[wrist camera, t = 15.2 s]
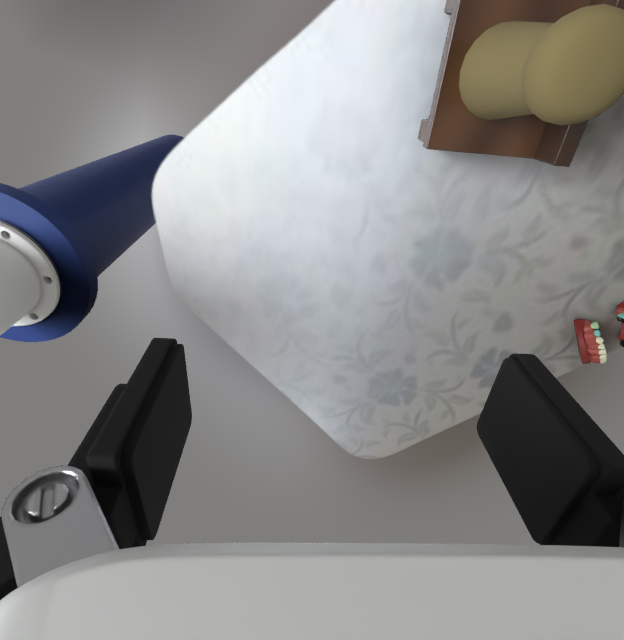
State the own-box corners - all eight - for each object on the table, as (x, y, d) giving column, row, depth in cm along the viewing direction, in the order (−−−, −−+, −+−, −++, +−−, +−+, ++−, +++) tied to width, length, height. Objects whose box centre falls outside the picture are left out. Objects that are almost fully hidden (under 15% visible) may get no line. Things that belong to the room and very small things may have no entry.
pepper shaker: (490, 4, 26) (596, -42, 16) (562, 43, 27) (699, 22, 18) (443, 100, 29) (509, 109, 19) (510, 132, 30) (603, 155, 20)
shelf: (411, 140, 35) (437, 155, 28) (443, -19, 29) (485, -50, 22) (518, 150, 35) (569, 166, 28) (570, -4, 29) (650, -30, 23)
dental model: (666, 352, 42) (589, 378, 44) (638, 332, 46) (568, 356, 48) (664, 313, 40) (582, 342, 42) (635, 295, 43) (561, 322, 45)
